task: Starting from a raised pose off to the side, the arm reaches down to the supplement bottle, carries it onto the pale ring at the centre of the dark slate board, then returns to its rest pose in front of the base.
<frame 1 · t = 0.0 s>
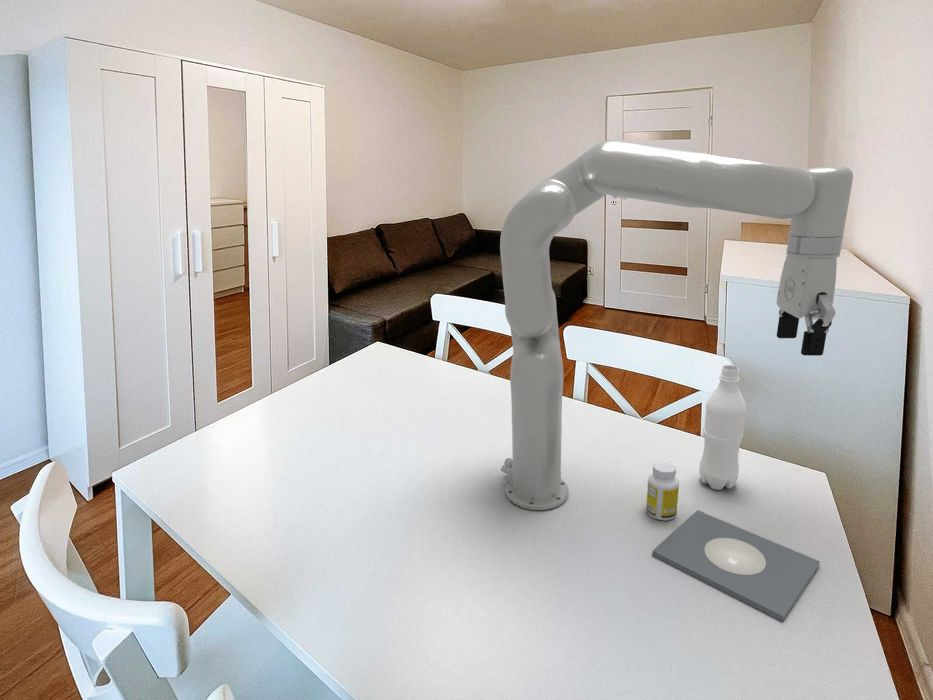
hand: (798, 345, 95), 31 cm above the table, tool pointing down, fingers open, 9 cm apart
water bottle: (717, 484, 111), on the table
slate board: (733, 561, 89), on the table
supplement bottle: (660, 513, 102), on the table
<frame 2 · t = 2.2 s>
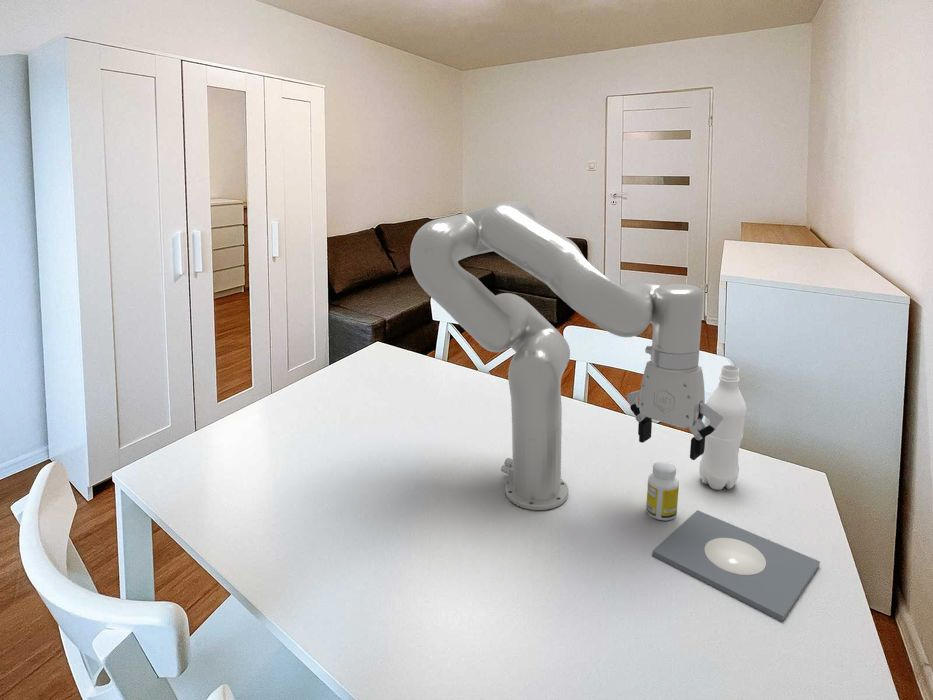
hand: (669, 448, 98), 14 cm above the table, tool pointing down, fingers open, 9 cm apart
nothing on the table moved.
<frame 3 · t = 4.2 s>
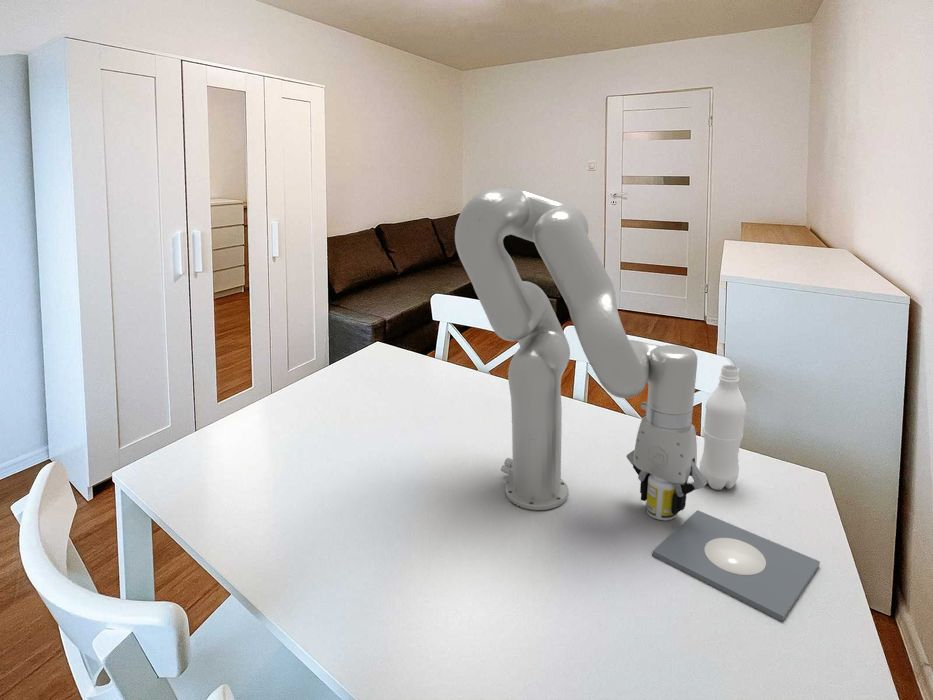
hand: (661, 503, 102), 2 cm above the table, tool pointing down, fingers closed on supplement bottle, 5 cm apart
supplement bottle: (660, 513, 102), on the table, touching gripper
everything else where it was.
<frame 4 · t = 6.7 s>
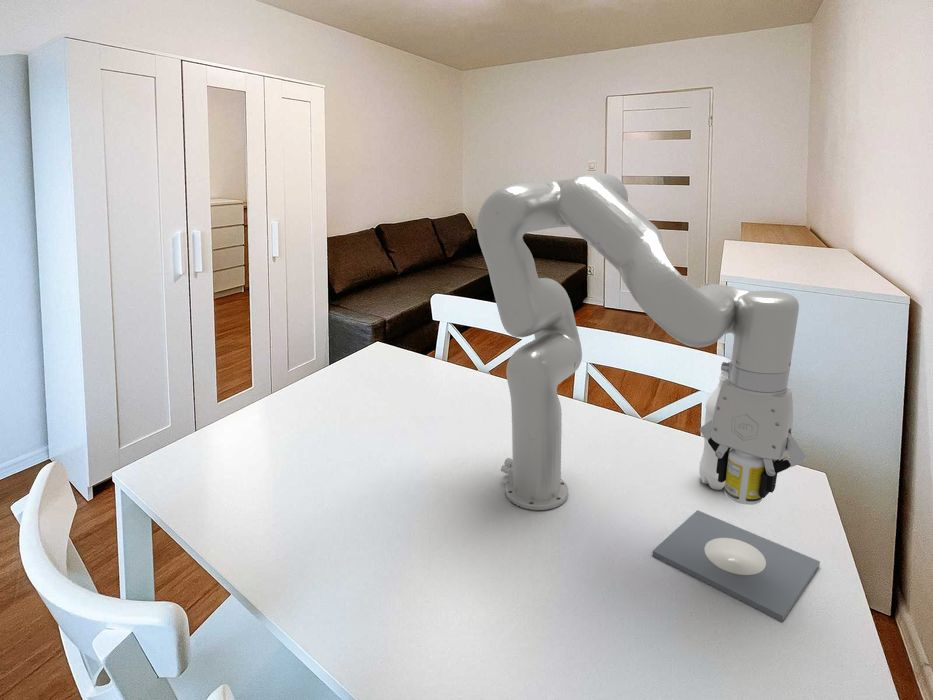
hand: (744, 485, 85), 14 cm above the table, tool pointing down, fingers closed on supplement bottle, 5 cm apart
supplement bottle: (742, 497, 85), point 12 cm above the table, touching gripper
everything else where it was.
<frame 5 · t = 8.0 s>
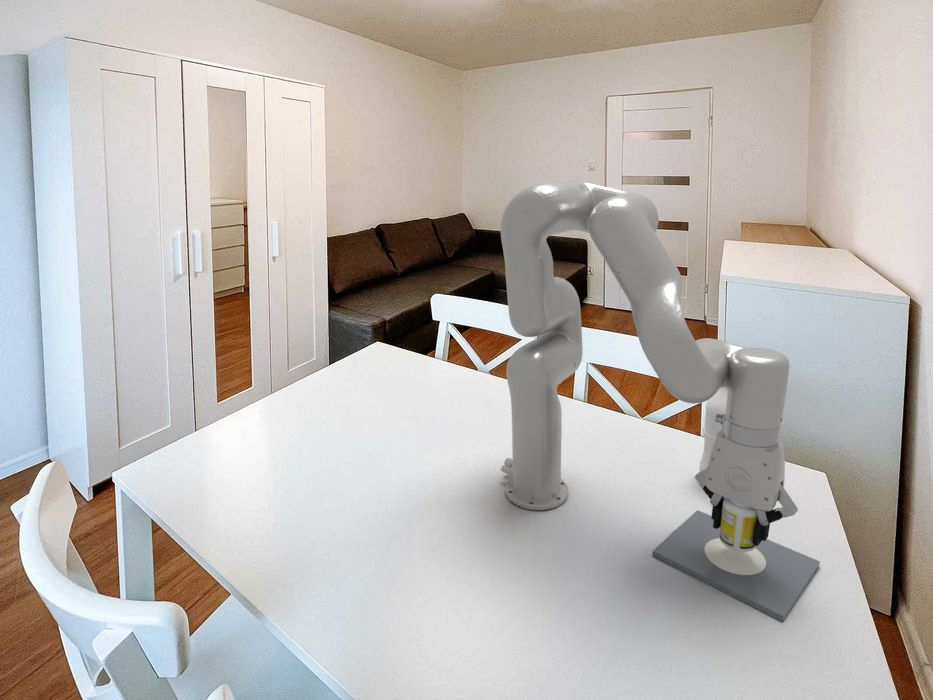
hand: (738, 532, 87), 6 cm above the table, tool pointing down, fingers closed on supplement bottle, 5 cm apart
supplement bottle: (737, 543, 88), point 3 cm above the table, touching gripper
everything else where it was.
when the fingers open (4 cm above the table, at t = 9.2 s): supplement bottle stays where it is, resting on slate board.
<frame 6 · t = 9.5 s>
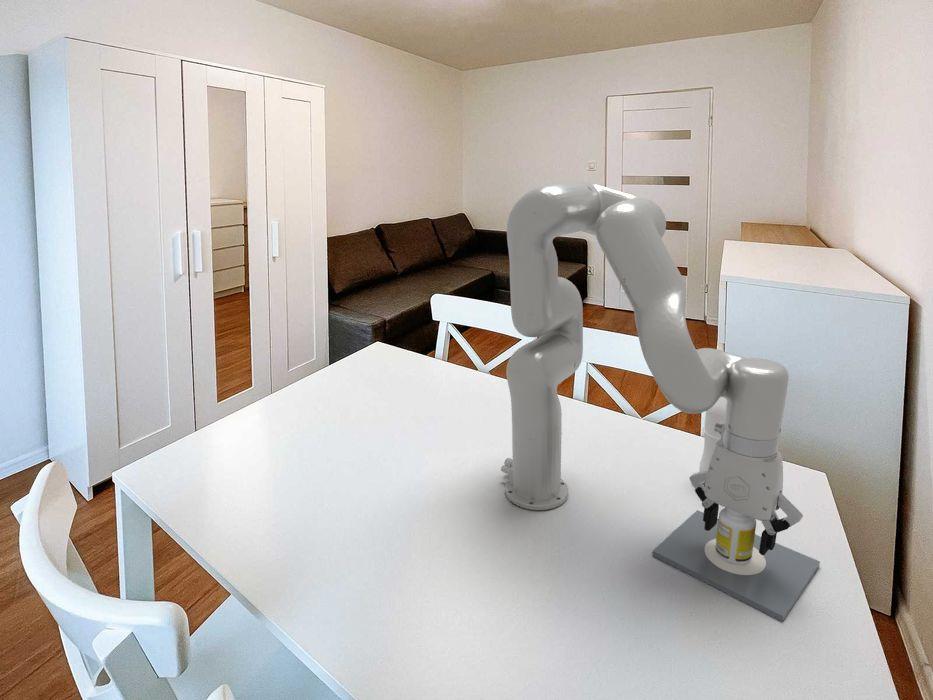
hand: (736, 537, 88), 4 cm above the table, tool pointing down, fingers open, 8 cm apart
supplement bottle: (732, 555, 89), point 1 cm above the table, touching slate board
everything else where it was.
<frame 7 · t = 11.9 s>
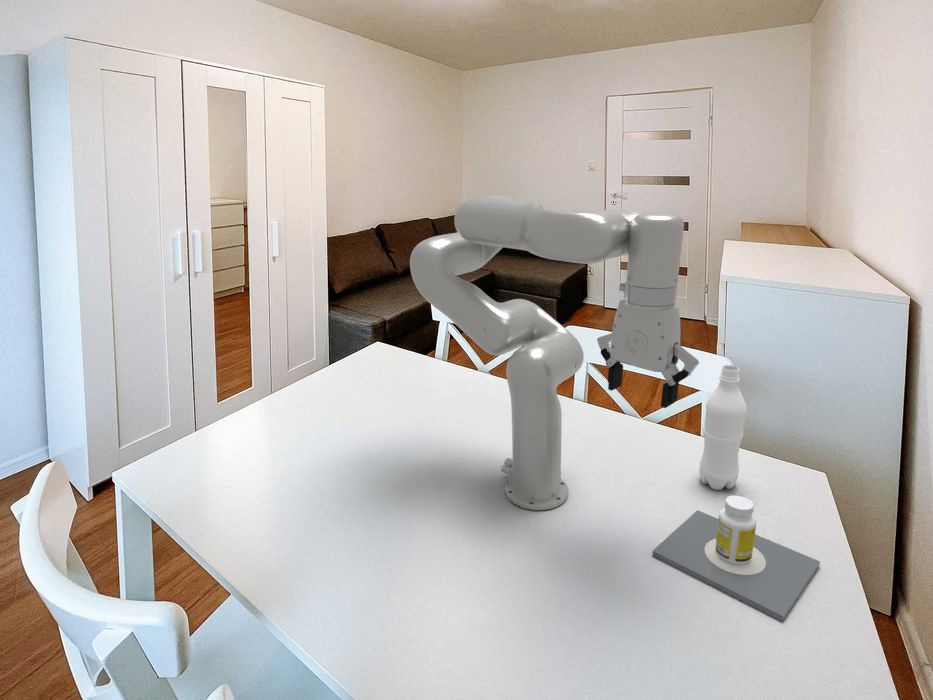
hand: (640, 396, 90), 26 cm above the table, tool pointing down, fingers open, 9 cm apart
nothing on the table moved.
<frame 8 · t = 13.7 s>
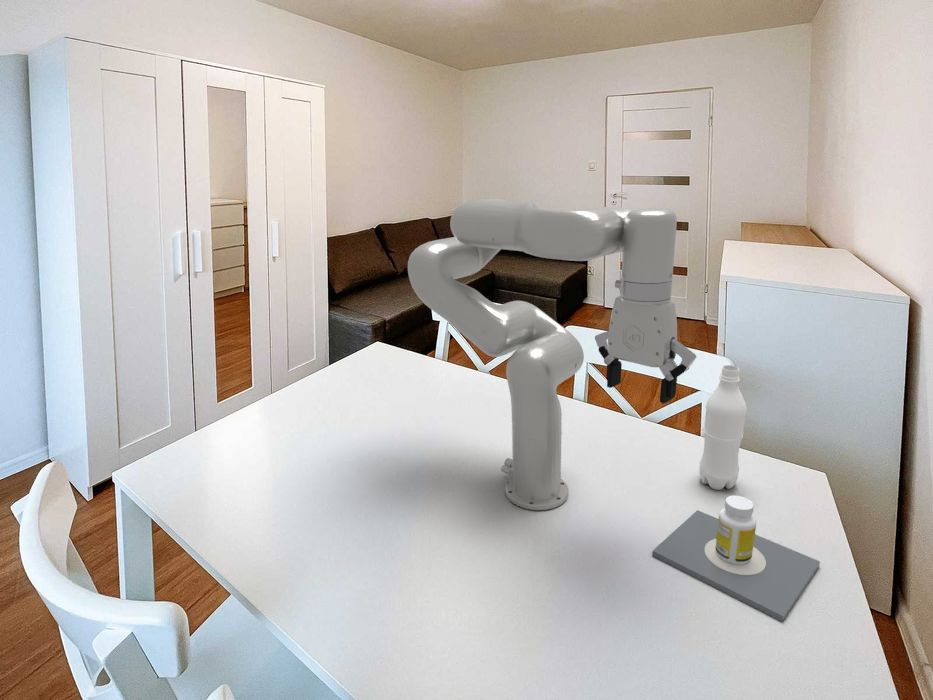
hand: (639, 392, 90), 26 cm above the table, tool pointing down, fingers open, 9 cm apart
nothing on the table moved.
at the end: supplement bottle inside the target area on the slate board (0.3 cm from its centre), point 0.9 cm above the slate board's base; supplement bottle tilted 0°; the gripper is holding nothing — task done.
